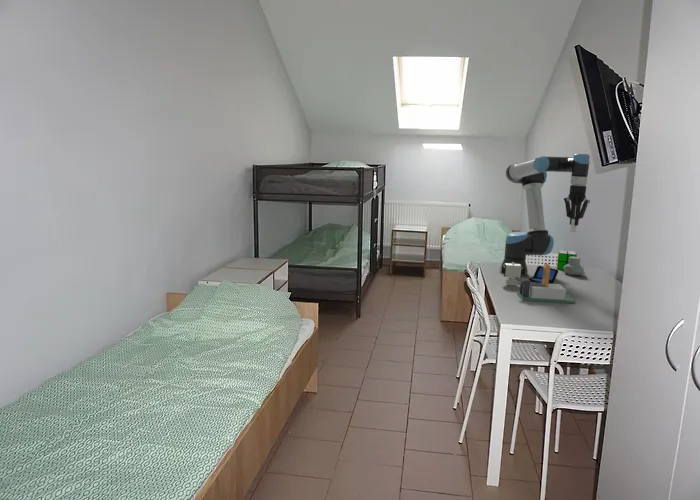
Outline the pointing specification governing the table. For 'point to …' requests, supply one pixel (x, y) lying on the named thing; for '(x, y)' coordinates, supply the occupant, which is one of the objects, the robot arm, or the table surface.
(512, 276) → the pneumatic valve
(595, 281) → the table surface
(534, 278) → the handheld game console
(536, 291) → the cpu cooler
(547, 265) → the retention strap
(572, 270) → the air freshener
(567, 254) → the puzzle cube
